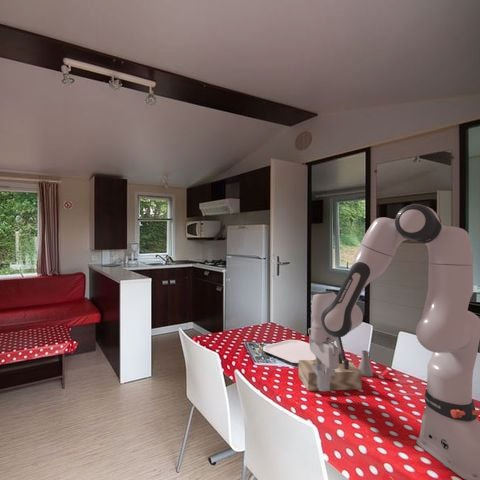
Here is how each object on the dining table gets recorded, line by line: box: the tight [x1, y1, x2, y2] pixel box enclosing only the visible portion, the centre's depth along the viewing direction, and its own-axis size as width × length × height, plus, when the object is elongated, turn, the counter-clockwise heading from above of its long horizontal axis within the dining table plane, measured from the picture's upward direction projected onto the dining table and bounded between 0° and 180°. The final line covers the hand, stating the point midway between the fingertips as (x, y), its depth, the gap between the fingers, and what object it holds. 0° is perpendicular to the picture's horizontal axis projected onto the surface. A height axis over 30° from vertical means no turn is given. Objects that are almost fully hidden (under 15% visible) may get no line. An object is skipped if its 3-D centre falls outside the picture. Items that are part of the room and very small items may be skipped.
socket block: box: [297, 353, 363, 392], centre depth 132 cm, size 22×13×10 cm, turn 96°
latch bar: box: [335, 337, 346, 361], centre depth 132 cm, size 12×4×1 cm
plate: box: [262, 339, 316, 365], centre depth 165 cm, size 29×29×2 cm
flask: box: [357, 350, 374, 378], centre depth 142 cm, size 7×7×10 cm
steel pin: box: [312, 364, 335, 392], centre depth 118 cm, size 6×6×8 cm
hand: (323, 372), depth 118 cm, fingers closed on steel pin, 6 cm apart
